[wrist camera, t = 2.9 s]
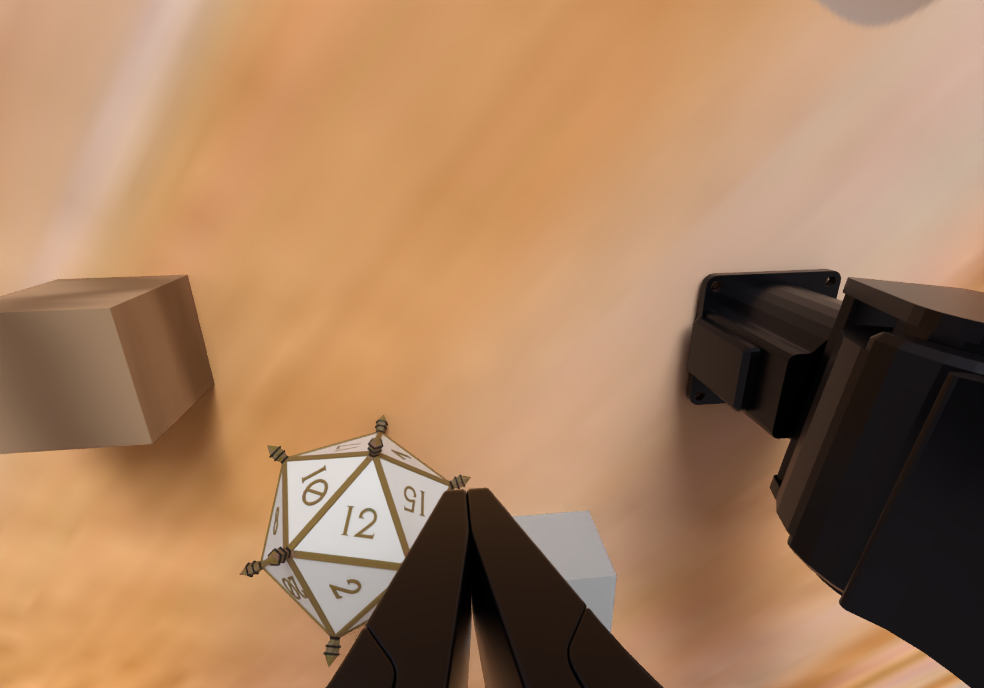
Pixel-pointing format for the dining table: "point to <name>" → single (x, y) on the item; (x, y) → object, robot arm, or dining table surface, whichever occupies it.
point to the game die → (346, 526)
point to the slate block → (576, 557)
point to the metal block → (98, 362)
